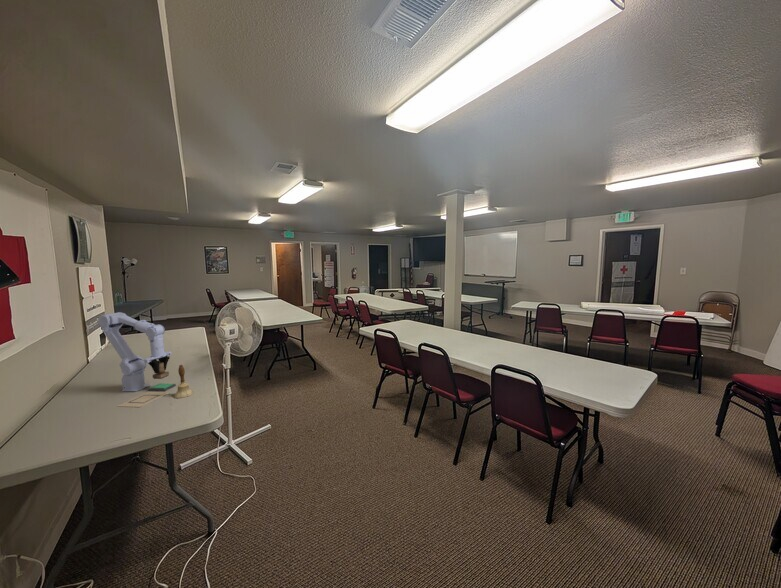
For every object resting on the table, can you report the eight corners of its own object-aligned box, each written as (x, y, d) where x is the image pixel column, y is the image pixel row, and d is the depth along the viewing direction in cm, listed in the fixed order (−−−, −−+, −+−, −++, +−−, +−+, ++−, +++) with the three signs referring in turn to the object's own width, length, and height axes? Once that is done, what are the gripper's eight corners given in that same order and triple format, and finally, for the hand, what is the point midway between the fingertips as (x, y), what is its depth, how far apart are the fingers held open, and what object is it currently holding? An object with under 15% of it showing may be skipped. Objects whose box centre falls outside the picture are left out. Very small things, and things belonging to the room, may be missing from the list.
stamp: (152, 378, 160) (151, 364, 159) (161, 375, 165) (159, 361, 164) (161, 378, 159) (159, 364, 158) (169, 375, 164) (167, 361, 163)
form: (116, 406, 142) (116, 405, 142) (148, 392, 158) (148, 391, 158) (140, 407, 140) (139, 406, 140) (169, 392, 156) (169, 392, 156)
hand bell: (197, 391, 156) (194, 362, 155) (185, 398, 148) (181, 367, 147) (183, 391, 157) (179, 362, 156) (169, 398, 149) (166, 367, 147)
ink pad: (148, 390, 160) (148, 388, 160) (160, 385, 167) (159, 382, 166) (164, 391, 158) (164, 388, 158) (175, 385, 165) (175, 383, 165)
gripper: (151, 351, 152) (154, 376, 154) (175, 343, 167) (178, 367, 168) (139, 351, 153) (142, 376, 155) (164, 343, 168) (167, 366, 169)
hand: (160, 371), depth 161 cm, fingers closed on stamp, 4 cm apart
